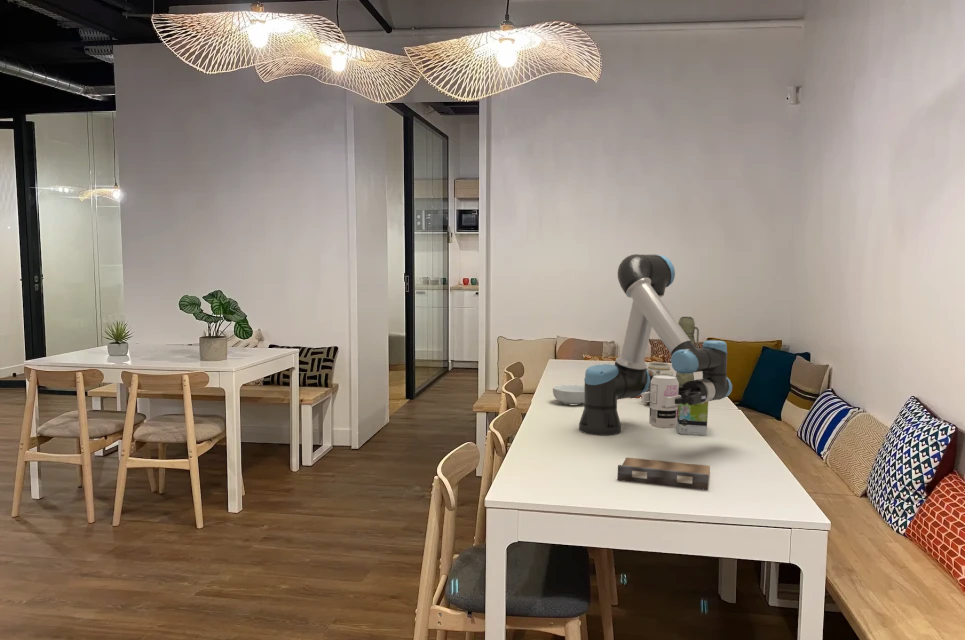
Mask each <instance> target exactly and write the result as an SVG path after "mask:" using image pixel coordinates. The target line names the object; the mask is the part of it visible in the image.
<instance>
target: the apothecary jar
mask: <svg viewBox="0 0 965 640" xmlns="http://www.w3.org/2000/svg"><path fill="white" fill-rule="evenodd" d="M647 370H648V372H649V374H648V375H649V376H650V384H649V387H648V389H647V391H646V392H649V389H650V386H651V380H652V378H653V376H655V375H669V376H674V372H673V370H672V369H671V368H670V364H669V363H665V362H650V363H649V364H648V366H647ZM645 406H647V407H650V401H647V402H645Z"/></svg>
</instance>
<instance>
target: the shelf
mask: <svg viewBox="0 0 965 640" xmlns="http://www.w3.org/2000/svg"><path fill="white" fill-rule="evenodd" d="M710 470H711V465H707V464H706V465H705V464H697V463H695V464H694V463H688V462H687V463H686V462H676V461H666V460H665V461H664V460H654V459H645V458H634V457H625V459H624V461H623V463H622V464H618V465H617V481H622V480H625V481H624V482H631V481H633V482H632V483H640V482H641V484H648V485H649V484H650V485H651V484H652V485H660V486H669V487H677V488H687V489H696V490H703V489H704V491H708V489H709V483H708V482H709V479H710V473H711V472H710Z"/></svg>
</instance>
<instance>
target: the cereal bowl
mask: <svg viewBox="0 0 965 640" xmlns="http://www.w3.org/2000/svg"><path fill="white" fill-rule="evenodd" d="M552 394H553V396H554V398H555V400H556V401H558V402H561V403H562V404H563V403H565V404H564V405H566V404H580V405H582V404H583V403H584V396H585V384H578V383H577V384H573V383H572V384H571V383H567V384H566V383H565V384H558V385H553V386H552ZM581 403H582V404H581Z"/></svg>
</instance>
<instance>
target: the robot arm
mask: <svg viewBox="0 0 965 640" xmlns="http://www.w3.org/2000/svg"><path fill="white" fill-rule="evenodd" d="M675 271H676V270H675V267H674V264H673V262H672V261H671V259H669V258H668V257H667V256H665V255H660V254H639V253H638V254H631V255H627V256H625V258H624V259H622V261H620V264H619V265H618V268H617V280H618V283H619V285H620V288H621V290H622V291H623V293H624V294H625V295H626V297H627V298H631V299H632V303H631V309H630V312H629V317H628V322H627V327H626V331H625V336H624V340H623V345H622V348H621V354H620V356H619V357H616V358H615V361H614V364H609V363H606V364H605V363H604V364H594V365H591V366H589V367H587V369H586V370H585V372H584V373H585V374H584V385H585V396H584V405H583V407H584V408H583V411H582V414H581V417H580V419H579V423H578V430H579V431H580V432H582V433H584V432H585V433H584V434H588V433H589V435H595V434H596V435H597V436H610V435H611V436H612V435H617V434H620V433H621V432H622V424H621V420H620V417H619V414H618V400H624V399H632V398H634V397H637V396H640V395H642V397H641V398H640V399H641V402H642V403H648V402H650V389H649V392H646V391H647V389H648V387H649V384H650V376H649V375H648V374H649V372H648V370H647V368H648V365H647V364H646V362H645V357H646V355H647V349H648V347H649V346H648V345H649V341H650V337H651V333H652V329H653V330H654V331H655V333H656V334H657V336H658V337H659V339H660V340H661V342H662V343H663V345H664V346H665V348H666V349H667V350H668V351H669V353H670V355H671V358H670V363H671V367H672V369H673V370H674V371H675V373H676V372H678V373H682V374H690V373H693V374H694V373H699V372H702V378H699V379H698V378H697V379H694V380H692V381H688V382H686V383H684V384H683V386H682V387H679V390H678V395H677V396H672V397H667V398H666V407H671V406H676V405H680V404H683V405H685V404H686V403H688V405H694V404H699V403H701V404H703V403H704V402H708V403H709V402H711V401H716V400H717V401H718V400H722V399H725V398H726V397H728V396H729V395H730V394H732V391H733V384H732V381H731V380H730V379H729V377H728V375H727V368H728V367H727V366H728V345H727V343H726V342H725V341H724V340H704V341H703V344H702V347H701V348H700V347H698V348H696V347H695V346H696V345H695V346H694V344H693V343H692V342H691V341H690V339H689V338H688V336H687V335H686V334H685V332H684V331H683V329H682V328H681V327H680V325H679V324H678V323H679V321H677V319H676V318H675V317H674V315H673V314H672V313H671V311H670V310H669V309H668V307H667V306H666V304H665V303H664V301H663V300H662V298H663V297H664V295H665V292H666V288H668V287H670V286H671V285H672V284H673V282H674V280H675V277H676V272H675Z"/></svg>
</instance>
